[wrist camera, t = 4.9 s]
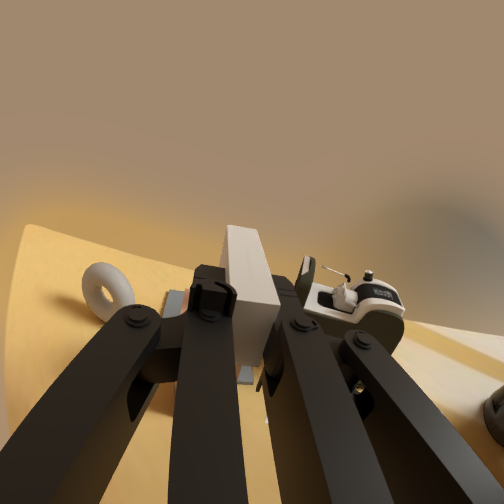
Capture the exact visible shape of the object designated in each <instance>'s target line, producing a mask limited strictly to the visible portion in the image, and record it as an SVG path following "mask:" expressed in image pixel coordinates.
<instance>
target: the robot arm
mask: <svg viewBox="0 0 504 504" xmlns="http://www.w3.org/2000/svg"><path fill="white" fill-rule="evenodd" d="M297 297H298V296H297V294H296V292H295V289H294V287H293V284H292V283H291V282H290V281H289V280H288V279H287V278H286V277H284V276H278V275H271V273H270V270H269V267H268V264H267V261H266V257H265V254H264V251H263V248H262V245H261V242H260V239H259V236H258V233H257V230H255V229H250V228H244V227H239V226H233V225H227V229H226V234H225V239H224V243H223V249H222V254H221V258H220V264H219V267H215V266H208V265H203V264H201V265H200V266H198V267H197V268H196V269H195V272H194V278H193V283H192V285H191V287H190V293H189V300H188V308H187V310H186V311H185V312H184V313H182V314H181V315H178V316H175V317H169V318H160V315H159V314H158V313H157V312H156V310H154V309H152V308H150V307H148V306H145V305H140V304H133V305H128V306H124V307H122V308H121V309H119V310H118V311H117V312H116V313H115V314H114V315H113V316H112V317H111V318H110V319H109V320H108V321H107V322H106V324H105V325H104V326H103V327H102V328H101V329H100V330H99V331H98V332H97V333H96V334H95V336H94V337H93V338H92V339H91V340H90V341H89V342H88V343H87V344H86V345H85V347H84V348H83V349H82V350H81V351H80V352H79V353H78V355H77V356H76V357H75V358H74V359H73V360H72V361H71V363H70V364H69V365H68V366H67V367H66V368H65V370H64V371H63V372H62V373H61V374H60V375H59V377H58V378H57V379H56V380H55V381H54V383H53V384H52V385H51V386H50V387H49V389H48V390H47V391H46V392H45V393H44V395H43V396H42V397H41V398H40V400H39V401H38V402H37V403H36V405H35V406H34V407H33V408H32V410H31V411H30V412H29V414H28V415H27V416H26V417H25V419H24V420H23V421H22V423H21V424H20V425H19V427H18V428H17V429H16V431H15V432H14V433H13V435H12V436H11V437H10V439H9V440H8V442H7V443H6V444H5V446H4V447H3V449H2V450H1V451H0V504H99V503H100V501H101V498H102V496H103V494H104V492H105V490H106V488H107V486H108V484H109V482H110V480H111V478H112V476H113V474H114V472H115V470H116V468H117V466H118V464H119V462H120V460H121V458H122V456H123V454H124V452H125V450H126V448H127V446H128V444H129V442H130V440H131V438H132V436H133V434H134V432H135V430H136V428H137V426H138V424H139V423H140V421H141V419H142V417H143V415H144V413H145V411H146V409H147V407H148V405H149V403H150V401H151V399H152V398H153V396H154V394H155V392H156V390H157V388H158V386H159V383H166V382H175V381H177V388H176V396H175V406H174V415H173V426H172V437H171V450H170V464H169V481H168V504H249V503H248V495H247V486H246V477H245V467H244V457H243V447H242V437H241V426H240V415H239V404H238V392H237V379H236V367H235V365H241V366H253V367H259V366H260V363H261V360H262V357H263V359H264V365H265V366H264V369H263V371H262V374H261V376H260V379H259V381H258V384H257V387H256V392H259V390H260V388H261V386H262V387H263V393H264V400H265V406H266V412H267V418H268V424H269V431H270V437H271V443H272V449H273V455H274V461H275V467H276V473H277V479H278V485H279V490H280V496H281V502H282V504H504V489H503V488H502V486H501V485H500V484H499V483H498V481H497V480H496V479H495V477H494V476H493V475H492V474H491V472H490V471H489V470H488V468H487V467H486V466H485V465H484V463H483V462H482V461H481V460H480V458H479V457H478V456H477V455H476V453H475V452H474V451H473V450H472V448H471V447H470V446H469V445H468V444H467V442H466V441H465V440H464V439H463V437H462V436H461V435H460V434H459V433H458V431H457V430H456V429H455V428H454V427H453V426H452V424H451V423H450V422H449V421H448V420H447V418H446V417H445V416H444V415H443V414H442V413H441V411H440V410H439V409H438V408H437V407H436V406H435V404H434V403H433V402H432V401H431V400H430V399H429V398H428V396H427V395H426V394H425V393H424V392H423V391H422V390H421V388H420V387H419V386H418V385H417V384H416V383H415V382H414V380H413V379H412V378H411V377H410V376H409V375H408V374H407V373H406V372H405V370H404V369H403V368H402V367H401V366H400V365H399V364H398V363H397V362H396V360H395V359H394V358H393V357H392V356H391V355H390V354H389V353H388V352H387V351H386V349H385V348H384V347H383V346H382V345H381V344H380V343H379V342H378V341H377V340H376V339H375V338H374V337H373V336H372V335H370V334H368V333H367V332H365V331H362V330H350V331H347V332H346V334H345V335H344V337H343V339H340V338H337V337H333V336H330V335H327V334H324V332H323V330H322V328H321V326H320V325H319V323H318V322H317V321H316V320H314V319H313V318H312V317H310V316H307V315H305V313H304V310H303V308H302V306H301V303H300V301H299V298H297ZM360 381H361V382H362V383H363V384H364V386H365V388H364V390H363V391H362V392H361V393H360V392H358V391H357V390H356V389H355V388H356V387H357V385H358V384H359V383H360ZM484 418H485V422H486V425H487V427H488V429H489V431H490V433H491V434H492V436H493V437H494V438H495V439H496V441H497V442H498V443H500V444H501V445H502V446H504V385H503V386H502V387H501V388H499V389H498V390H496V391H495V392H494V393H493V394H492V395H491V396H490V397H489V398H488V400H487V401H486V402H485V405H484Z"/></svg>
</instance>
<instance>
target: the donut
mask: <svg viewBox="0 0 504 504" xmlns="http://www.w3.org/2000/svg"><path fill="white" fill-rule="evenodd" d="M102 286H104V287H105V288H106V289H107V290H108V291H109V293H110V294H111V296H112V299H113V303H112V302H111V301H109V300H108V299H107V298H106V296H105V295H104V293H103V291H102ZM82 291H83V296H84V298H85V300H86V303H87V305H88V306H89V308H90V309H91V311H92V312H93V313H94V314H95V315H96V316H97V317H98V318H100V319H101V320H103V321H104V322H107V321H108V320H109V319H110V318H111V317H112V316H113V315H114V314H115V313H116V312H117V311H118V310H119V309H121V308H122V307H124V306H128V305H133V304H135V297H134V292H133V290H132V287H131V285H130V283H129V281H128V280H127V278H126V277H125V275H124V274H123V273H122V272H121V271H120V270H119V269H117V268H116V267H114V266H112V265H111V264H107V263H103V262H99V263H95V264H92V265H91V266H90V267H89V268H87V269H86V270H85V273H84V275H83V278H82Z"/></svg>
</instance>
